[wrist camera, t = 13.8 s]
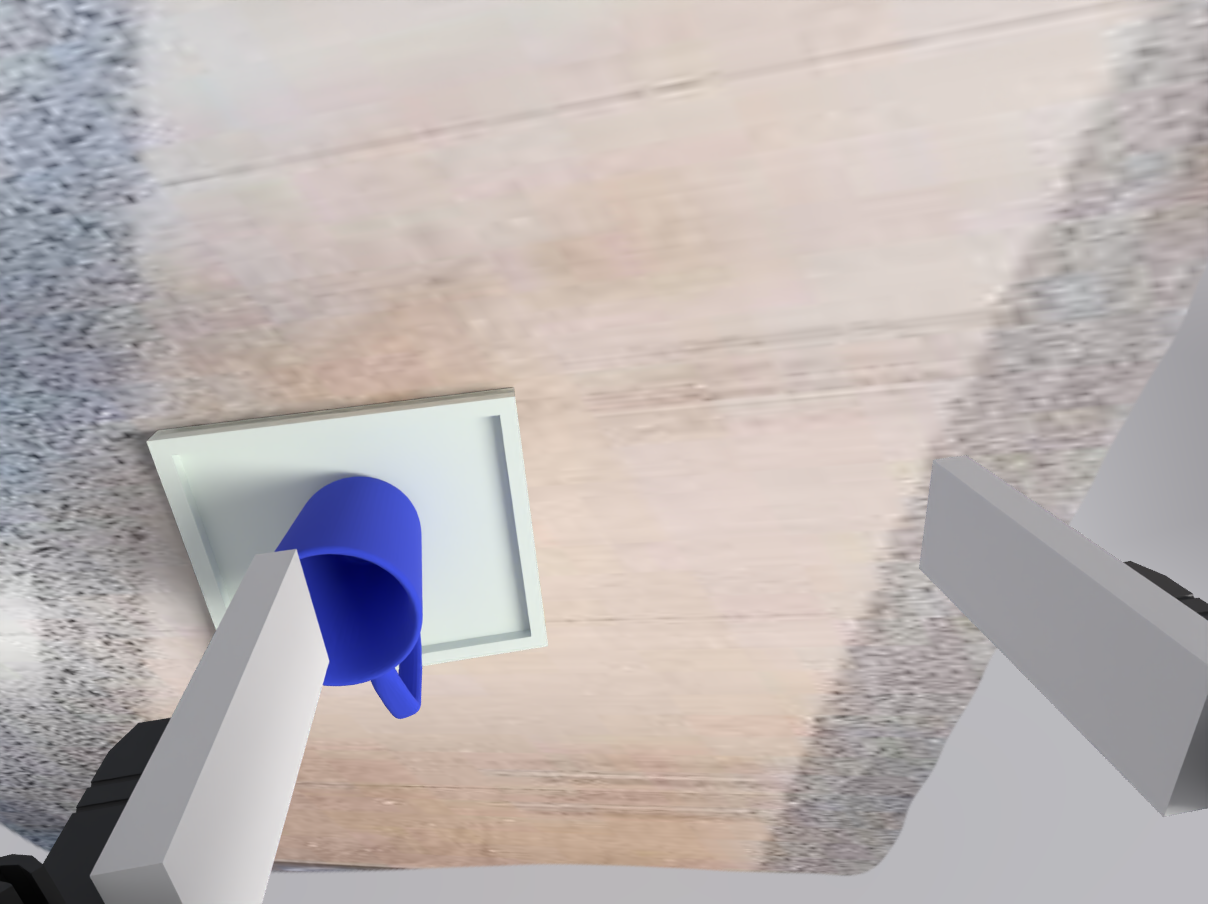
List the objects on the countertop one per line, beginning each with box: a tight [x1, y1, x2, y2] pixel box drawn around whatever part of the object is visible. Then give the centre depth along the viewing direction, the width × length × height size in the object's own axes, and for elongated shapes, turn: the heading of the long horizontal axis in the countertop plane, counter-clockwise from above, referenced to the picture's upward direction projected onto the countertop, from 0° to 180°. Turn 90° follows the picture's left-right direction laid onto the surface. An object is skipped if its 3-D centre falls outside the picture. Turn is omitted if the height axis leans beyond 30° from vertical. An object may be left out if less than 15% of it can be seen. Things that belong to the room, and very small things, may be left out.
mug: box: [275, 476, 423, 719], centre depth 41 cm, size 8×12×10 cm
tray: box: [146, 387, 548, 670], centre depth 45 cm, size 18×20×2 cm
